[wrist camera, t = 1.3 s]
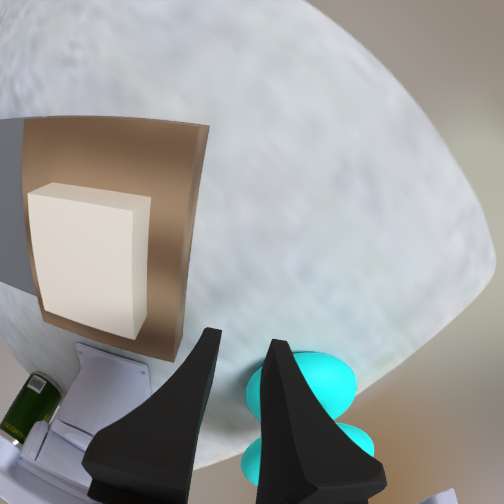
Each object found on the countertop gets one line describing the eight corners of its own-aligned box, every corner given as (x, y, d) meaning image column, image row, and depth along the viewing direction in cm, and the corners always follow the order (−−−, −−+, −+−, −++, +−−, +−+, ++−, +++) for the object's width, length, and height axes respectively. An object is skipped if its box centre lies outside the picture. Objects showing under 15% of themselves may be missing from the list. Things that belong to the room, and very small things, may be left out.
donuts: (326, 440, 12) (398, 463, 15) (307, 325, 21) (371, 376, 24) (211, 479, 16) (299, 500, 18) (223, 383, 25) (294, 420, 27)
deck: (182, 336, 22) (173, 362, 20) (60, 301, 22) (43, 321, 19) (209, 125, 16) (199, 126, 13) (51, 116, 15) (24, 119, 12)
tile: (146, 315, 18) (134, 339, 16) (61, 291, 17) (44, 310, 15) (151, 197, 14) (133, 211, 12) (52, 182, 14) (27, 193, 12)
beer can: (27, 364, 27) (-13, 427, 16) (55, 376, 27) (16, 447, 16) (41, 389, 29) (9, 449, 19) (69, 400, 29) (37, 466, 19)
